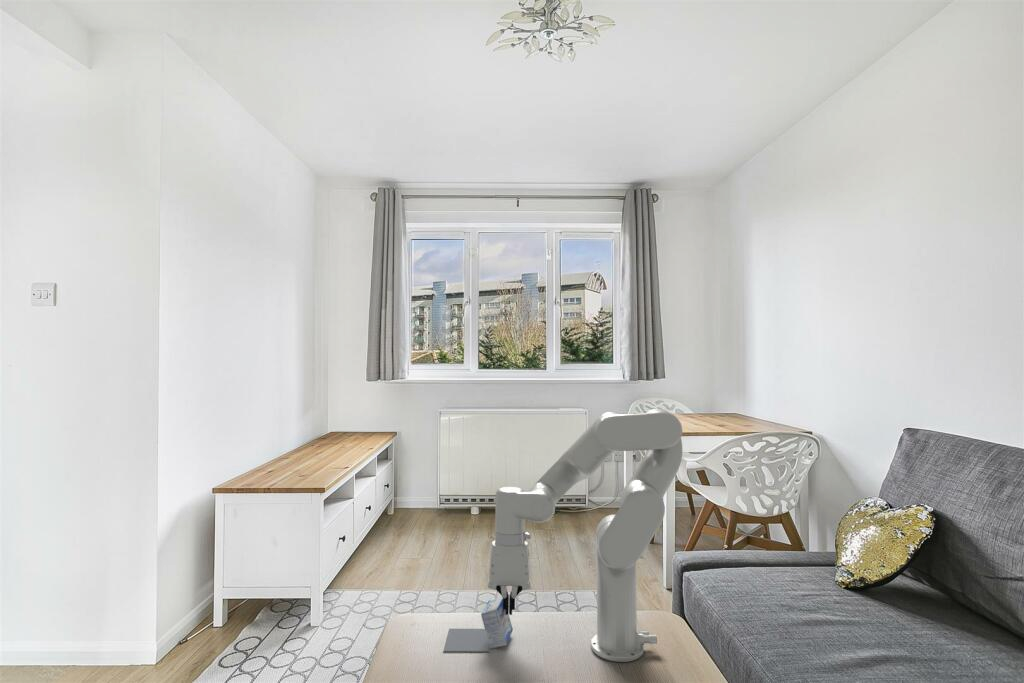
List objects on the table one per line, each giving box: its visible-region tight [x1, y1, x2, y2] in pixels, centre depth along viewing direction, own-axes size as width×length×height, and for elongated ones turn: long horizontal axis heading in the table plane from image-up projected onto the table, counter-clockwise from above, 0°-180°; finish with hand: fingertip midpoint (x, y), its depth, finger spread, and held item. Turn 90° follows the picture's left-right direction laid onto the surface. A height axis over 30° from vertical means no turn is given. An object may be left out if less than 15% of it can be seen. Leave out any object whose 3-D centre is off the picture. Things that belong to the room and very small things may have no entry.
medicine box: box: [480, 596, 514, 649], centre depth 133 cm, size 8×4×9 cm, turn 168°
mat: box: [442, 628, 491, 653], centre depth 133 cm, size 11×11×1 cm
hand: (508, 612), depth 133 cm, fingers closed
